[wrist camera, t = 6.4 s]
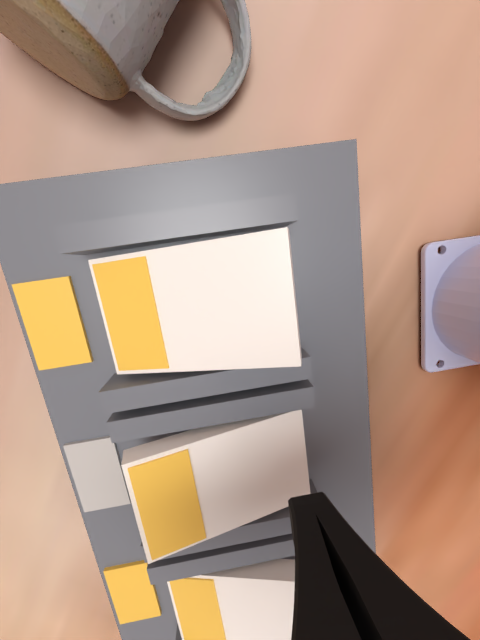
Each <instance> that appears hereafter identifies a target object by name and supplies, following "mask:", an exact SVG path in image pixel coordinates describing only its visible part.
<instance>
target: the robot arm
mask: <svg viewBox="0 0 480 640" xmlns="http://www.w3.org/2000/svg"><path fill="white" fill-rule="evenodd" d="M439 247H440V248H441V252H440V253H438V248H439ZM438 361H439V364H438V365H436V364H437V362H438ZM477 364H480V235H477V236H470V237H464V238H457V239H450V240H444V241H437V242H430V243H427V244H425V245H424V246H423V248H422V250H421V366H422V368H423V369H424V370H426V371H428V372H437V371H443V370H449V369H454V368H460V367H466V366H471V365H477ZM288 505H289V513H290V521H291V529H292V537H293V543H294V547H295V591H294V610H293V624H292V636H291V640H470V639H469V638H468V637H466V636H465V635H464V634H463V633H461V632H460V631H459V630H458V629H456V628H455V627H454V626H453V625H451V624H450V623H449V622H448V621H447V620H445V619H444V618H443V617H442V616H441V615H440V614H438V613H437V612H436V611H435V610H434V609H433V608H432V607H430V606H429V605H428V604H427V603H426V602H425V601H424V600H423V599H421V598H420V597H419V596H418V595H417V594H416V593H415V592H414V591H413V590H412V589H411V588H409V587H408V586H407V585H406V584H405V583H404V582H403V581H402V580H401V579H400V578H399V577H398V576H397V575H396V574H395V573H394V572H393V571H392V570H391V569H390V568H389V567H388V566H387V565H386V564H385V563H384V562H383V561H382V560H381V559H380V558H379V557H378V556H377V555H376V554H375V553H374V552H373V550H372V549H371V548H370V547H369V546H368V545H367V544H366V543H365V542H364V541H363V539H362V538H361V537H360V536H359V535H358V534H357V533H356V532H355V531H354V529H353V528H352V527H351V526H350V525H349V524H348V522H347V521H346V520H345V519H344V518H343V516H342V515H341V514H340V513H339V511H338V510H337V509H336V508H335V506H334V505H333V504H332V502H331V501H330V500H329V498H328V497H327V496H326V494H325V493H323V492H318V493H312V494H307V495H302V496H297V497H291V498H290V499H289V500H288Z"/></svg>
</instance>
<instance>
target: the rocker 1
mask: <svg viewBox="0 0 480 640" xmlns="http://www.w3.org/2000/svg"><path fill="white" fill-rule="evenodd" d="M88 262H89V266H90V270H91V274H92V278H93V282H94V286H95V290H96V293H97V297H98V301H99V305H100V309H101V313H102V317H103V321H104V325H105V329H106V333H107V337H108V340H109V344H110V348H111V352H112V356H113V360H114V364H115V368H116V372H117V374H139V373H162V372H185V371H207V370H230V369H253V368H276V367H299V366H301V364H302V354H301V344H300V334H299V324H298V314H297V304H296V294H295V284H294V274H293V264H292V254H291V244H290V234H289V228H288V227H285V228H279V229H273V230H267V231H261V232H255V233H249V234H243V235H236V236H230V237H224V238H218V239H212V240H206V241H200V242H194V243H188V244H182V245H176V246H170V247H164V248H158V249H152V250H146V251H140V252H134V253H128V254H122V255H116V256H110V257H104V258H98V259H92V260H88Z"/></svg>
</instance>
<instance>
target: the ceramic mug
mask: <svg viewBox="0 0 480 640" xmlns="http://www.w3.org/2000/svg"><path fill="white" fill-rule="evenodd" d="M178 2H179V0H0V32H1V33H2V34H3V35H4V36H6V37H7V38H8V39H9V40H11V41H12V42H13V43H15V44H16V45H17V46H18V47H20V48H21V49H22V50H24V51H25V52H26V53H28V54H29V55H30V56H32V57H33V58H34V59H36V60H37V61H38V62H40V63H41V64H43V65H44V66H45V67H47V68H48V69H49V70H51V71H52V72H54V73H55V74H57V75H58V76H60V77H61V78H63V79H64V80H66V81H68V82H69V83H71V84H72V85H74V86H75V87H77V88H79V89H81V90H83V91H84V92H86V93H88V94H90V95H92V96H94V97H97V98H100V99H103V100H116V99H121V98H122V97H124V96H125V95H126V94H127V93H128V92H129V91H134V92H135V93H136V94H138V95H139V96H140V97H141V98H142V99H143V100H144V101H145V102H146V103H147V104H148V105H150V106H151V107H153V108H154V109H156V110H158V111H160V112H162V113H164V114H166V115H168V116H170V117H172V118H176V119H180V120H185V121H196V120H200V119H204V118H207V117H208V116H210V115H212V114H214V113H216V112H217V111H219V110H221V109H222V108H223V107H224V106H225V105H226V104H227V103H228V102H229V101H230V100H231V98H232V97H233V96H234V95H235V94H236V92H237V90H238V89H239V87H240V86H241V84H242V82H243V80H244V77H245V74H246V71H247V69H248V66H249V62H250V55H251V32H250V22H249V15H248V11H247V7H246V3H245V0H221V2H222V4H223V7H224V9H225V12H226V14H227V17H228V19H229V24H230V27H231V33H232V37H233V47H234V48H233V55H232V58H231V64H230V65H229V67H228V68H227V70H226V72H225V73H224V75H223V77H222V78H221V80H220V81H219V83H218V84H217V86H216V87H215V88H214V89H213V90H212V91H209V92H206V93H205V95H204V97H203V99H202V102H200V103H198V105H197V106H194V105H187V104H183V103H176V102H175V101H174V100H172V99H171V98H169V97H167V96H166V95H164V94H162V93H161V92H159V91H158V90H156V89H155V88H154V87H153V86H152V85H151V84H149V83H147V82H146V80H145V79H144V78H143V77H142V72H143V70H144V68H145V67H146V65H147V63H148V62H149V61H150V59H151V56H152V54H153V52H154V49H155V47H156V45H157V44H158V42H159V40H160V38H161V37H162V35H163V30H164V27H165V25H166V23H167V21H168V19H169V18H170V16H171V14H172V13H173V11H174V9H175V7H176V5H177V3H178Z"/></svg>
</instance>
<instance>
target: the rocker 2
mask: <svg viewBox="0 0 480 640" xmlns="http://www.w3.org/2000/svg"><path fill="white" fill-rule="evenodd" d="M121 466H122V470H123V474H124V477H125V481H126V485H127V488H128V492H129V496H130V499H131V503H132V507H133V510H134V514H135V518H136V521H137V525H138V529H139V532H140V536H141V540H142V543H143V547H144V551H145V554H146V558H147V562H148V564H150V563H153V562H155V561H157V560H160V559H162V558H165V557H167V556H169V555H172V554H174V553H177V552H179V551H182V550H184V549H186V548H189V547H191V546H194V545H196V544H198V543H201V542H203V541H206V540H208V539H211V538H213V537H215V536H218V535H220V534H223V533H225V532H228V531H230V530H232V529H235V528H237V527H240V526H242V525H244V524H247V523H249V522H252V521H254V520H257V519H259V518H261V517H264V516H266V515H269V514H271V513H273V512H276V511H278V510H281V509H283V508H286V507H288V506H289V505H288V500H289V499H290V498H291V497H297V496H302V495H307V494H311V493H310V484H309V474H308V465H307V455H306V445H305V436H304V426H303V417H302V410H297V411H291V412H286V413H280V414H274V415H269V416H263V417H257V418H252V419H246V420H240V421H235V422H229V423H224V424H218V425H212V426H207V427H201V428H195V429H192V430H188V431H185V432H182V433H178V434H175V435H172V436H168V437H165V438H162V439H159V440H155V441H152V442H149V443H145V444H142V445H139V446H135V447H132V448H129V449H126V450H123V457H122V464H121Z"/></svg>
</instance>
